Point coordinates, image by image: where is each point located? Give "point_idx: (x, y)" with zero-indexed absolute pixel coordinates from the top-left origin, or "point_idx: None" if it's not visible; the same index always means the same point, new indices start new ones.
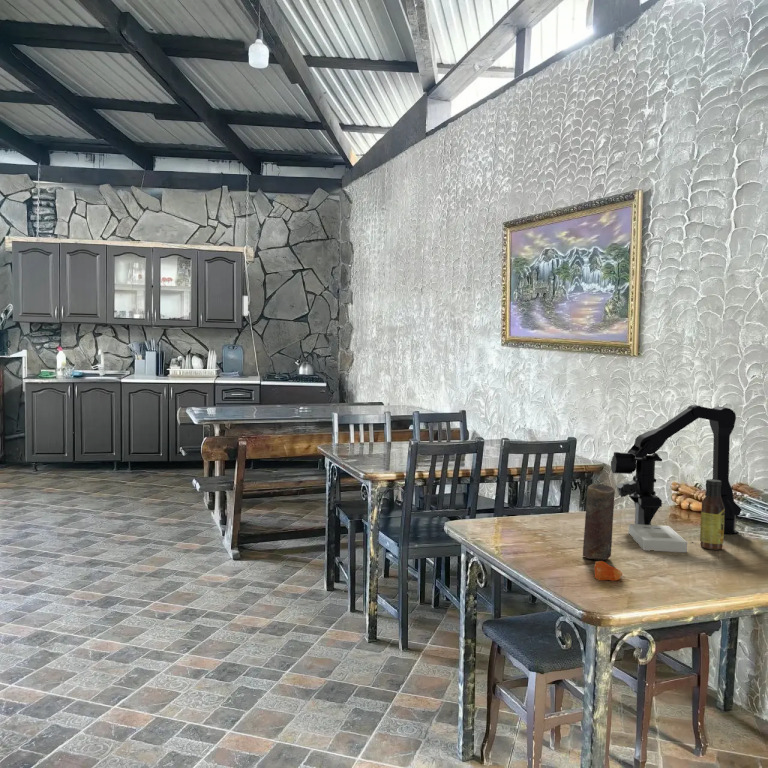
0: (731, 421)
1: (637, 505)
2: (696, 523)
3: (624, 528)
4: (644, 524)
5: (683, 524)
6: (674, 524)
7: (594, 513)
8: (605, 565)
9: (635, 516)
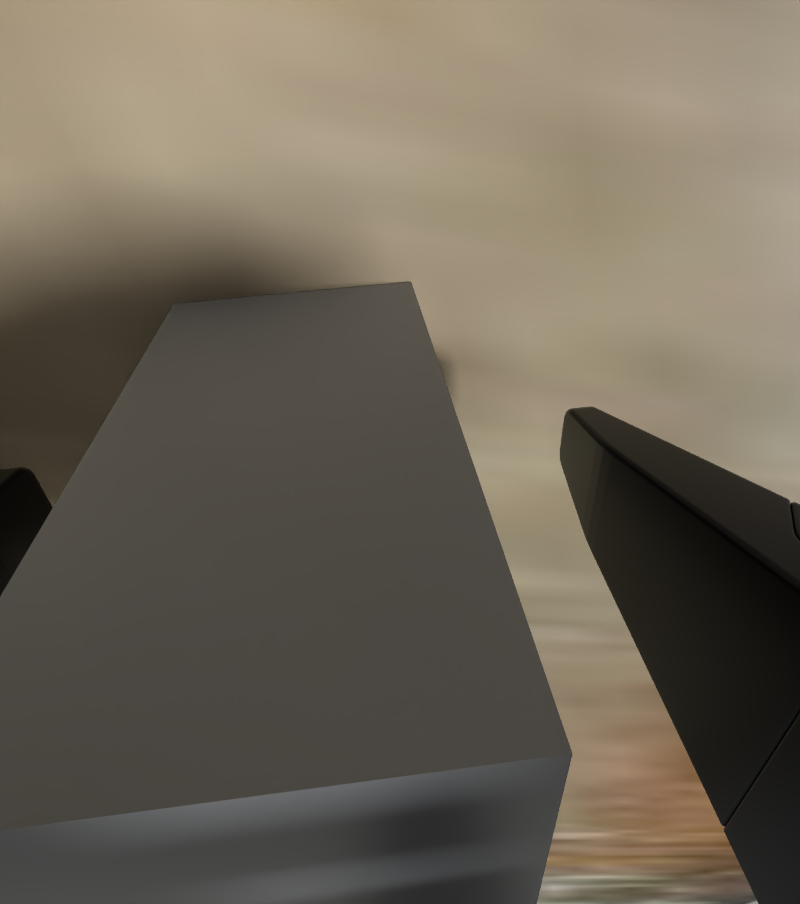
0: None
1: (158, 733)
2: (650, 796)
3: (174, 12)
4: (2, 475)
5: (614, 743)
6: (611, 697)
7: None
8: None
9: (396, 385)
